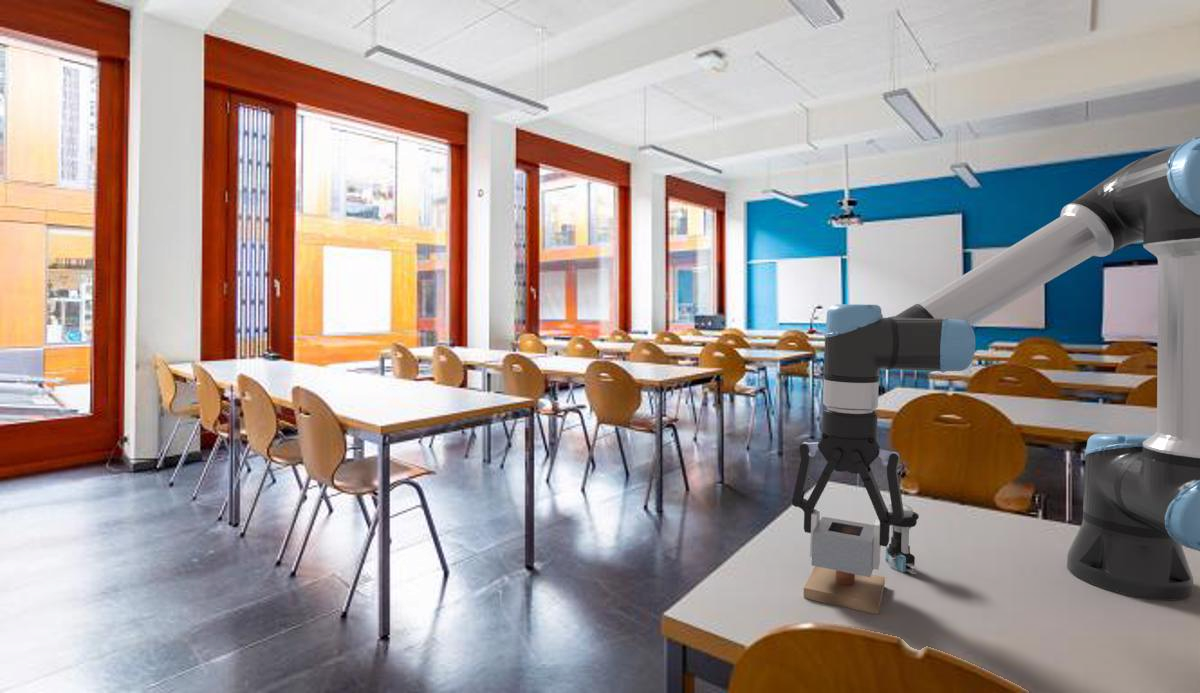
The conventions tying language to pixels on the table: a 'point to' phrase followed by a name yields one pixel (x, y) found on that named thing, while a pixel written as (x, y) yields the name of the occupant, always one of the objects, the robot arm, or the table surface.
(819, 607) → the table surface
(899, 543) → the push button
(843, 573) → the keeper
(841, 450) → the robot arm
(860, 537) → the grey slotted box
